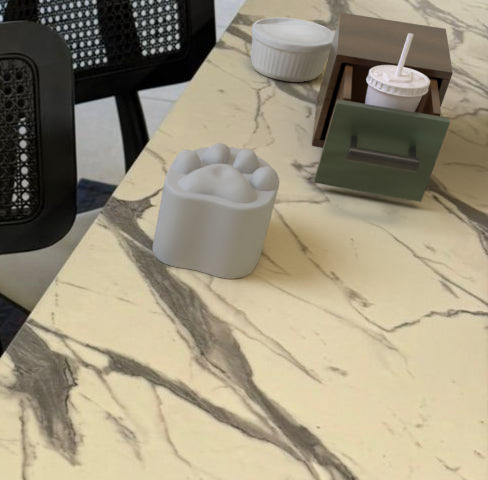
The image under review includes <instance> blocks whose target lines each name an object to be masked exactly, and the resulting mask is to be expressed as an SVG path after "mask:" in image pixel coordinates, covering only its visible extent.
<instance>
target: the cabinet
mask: <svg viewBox="0 0 488 480" xmlns="http://www.w3.org/2000/svg"><path fill="white" fill-rule="evenodd" d="M334 33H335V35H334V38H333V42H332V46H331V49H330V53H329V57H328V59H327V62H326V64H325V67H324V72H323V76H322V79H321V83H320V86H319V90H318V94H317V97H316V98H317V99H316V105H315V106H316V107H315V114H314V123H313V132H312V139H311V146H313V147H314V146H315V147H320V148H323V146H324V143H325V138H326V129H327V126H328V122H329V119H330V115H331V111H332V108H333V104H334V101H335V97H336V94H337V90H338V87H339V83H340V80H341V76H342V73H343V69H344V66H345V63H350V64H356V65H362V66H368V67H376V66H380V65H394V66H398V64H399V61H400V57H401V54H402V51H403V48H404V45H405V42H406V39H407V35H408V33H411V34H414V35H413V38H412V41H411V44H410V48H409V51H408V54H407V57H406V60H405V63H404V66H403V67H406V68H410V69H413V70H416V71H418V72H420V73H422V74H424V75H425V76H430V77H436V78H437V84H438V92H439V101H440V109H441V108H442V105H443V102H444V99H445V96H446V93H447V91H448V88H449V85H450V82H451V79H452V77H453V74H454V71H453V65H452V59H451V53H450V45H449V41H448V40H449V39H448V33H447V29H446V28H445V27H444V28H443V27H437V26H431V25H424V24H417V23H411V22H406V21H405V22H404V21H399V20H393V19H392V20H391V19H385V18H379V17H372V16H367V15H360V14H354V13H346V12H340V13H339V16H338V21H337V24H336V27H335V31H334Z"/></svg>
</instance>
